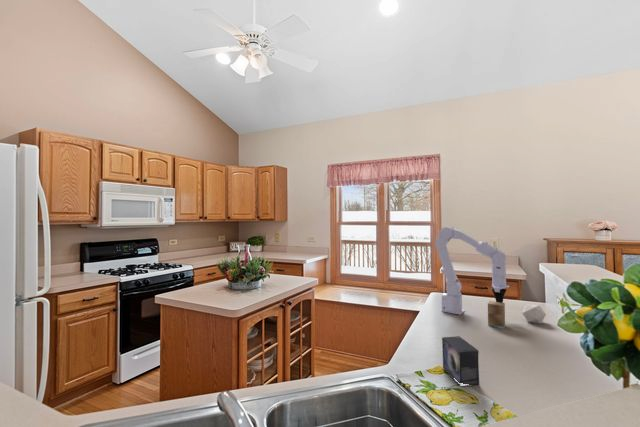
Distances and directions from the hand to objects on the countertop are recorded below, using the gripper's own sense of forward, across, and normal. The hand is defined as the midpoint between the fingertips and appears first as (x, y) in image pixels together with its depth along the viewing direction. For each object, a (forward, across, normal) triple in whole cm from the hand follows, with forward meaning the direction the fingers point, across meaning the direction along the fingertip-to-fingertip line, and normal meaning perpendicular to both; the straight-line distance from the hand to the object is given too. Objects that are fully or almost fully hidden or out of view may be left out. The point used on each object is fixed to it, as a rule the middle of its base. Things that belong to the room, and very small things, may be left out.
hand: (499, 304), depth 141 cm
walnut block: (+7, -10, 0) cm, 13 cm away
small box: (+7, -66, +3) cm, 66 cm away
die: (+7, +4, -13) cm, 16 cm away
